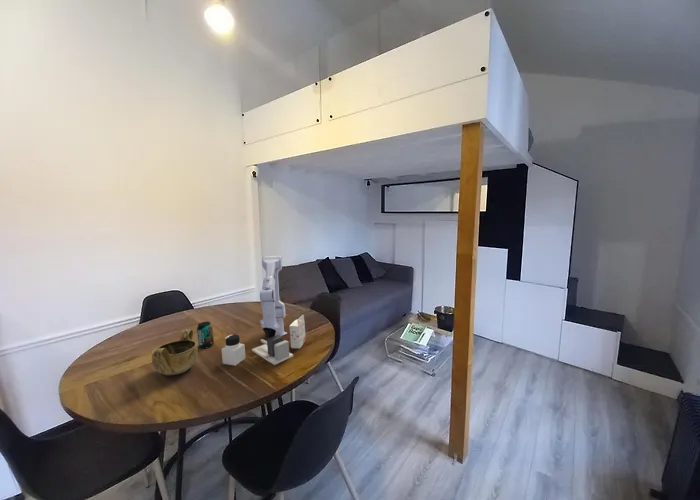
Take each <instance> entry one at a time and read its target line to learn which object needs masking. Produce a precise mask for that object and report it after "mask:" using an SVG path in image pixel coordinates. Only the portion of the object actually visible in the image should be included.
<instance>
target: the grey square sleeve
mask: <svg viewBox="0 0 700 500" xmlns="http://www.w3.org/2000/svg"><path fill="white" fill-rule="evenodd" d="M283 337H284V336H280V335H276V336H273V337H270V338H268V339H267V338H266V341H267V348H268V354H269V355H270V356H272V357H274V356H275V351H274V345H275V344H277V343H279V342H282V341H284V338H283Z"/></svg>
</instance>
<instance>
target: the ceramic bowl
mask: <svg viewBox="0 0 700 500" xmlns="http://www.w3.org/2000/svg"><path fill="white" fill-rule="evenodd" d="M180 336H181V337H180V339H179V340H173V341H170V342H166V343H163V344H160V345H158V346H157V347H155V348H154V349H152V352H151V360H152V361H151V362H152V365H153V367H154V369H155V371H157V372H158V373H160V374H162V375H165V376H177V375H181V374H183V373H185V372H187V371H188V370H189V369H191V368H192V367H193V366H194V364H195V362H196V361H197V358H198V351H199V350H198V345H197V342H196V341H195V340H193V337H194V330H193V329H183V330H182V332H181V335H180Z"/></svg>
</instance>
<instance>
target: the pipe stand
mask: <svg viewBox="0 0 700 500" xmlns="http://www.w3.org/2000/svg"><path fill="white" fill-rule="evenodd" d="M260 342H261V343H263V344H262V345H259V346H257V347H254V348H252V349H251V351H252V352H253V353H254V354H256V355H258V356H259V357H261V358H263V359H264V360H265V361H267V362H268V363H271V364H272V365H274V366H276V365H278V364H279V363H281V362H282V363H283V362H284V361H286V360H289V359H291V358H293V357H294V354H293V353H291V352H290V346H289V345H290V344H289V341H288V340H285V339H283V341H282V342H279V343H277V344H275V345H274V351H275V356H274V357H272V356H270V355H269V354H268V348H267V340H265V339H262V338H261V339H260Z"/></svg>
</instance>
